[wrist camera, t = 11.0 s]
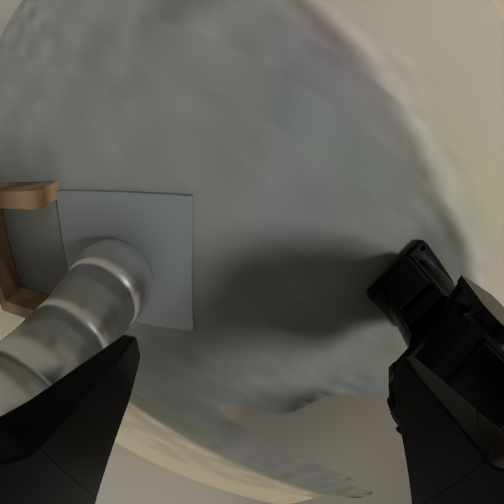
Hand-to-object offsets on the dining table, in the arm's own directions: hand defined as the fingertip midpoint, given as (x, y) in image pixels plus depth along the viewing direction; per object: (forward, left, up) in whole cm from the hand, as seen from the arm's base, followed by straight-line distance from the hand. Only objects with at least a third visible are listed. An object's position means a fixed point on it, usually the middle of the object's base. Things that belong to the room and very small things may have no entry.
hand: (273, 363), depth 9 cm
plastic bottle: (+6, +10, -13) cm, 18 cm away
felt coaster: (+7, +10, -13) cm, 18 cm away
